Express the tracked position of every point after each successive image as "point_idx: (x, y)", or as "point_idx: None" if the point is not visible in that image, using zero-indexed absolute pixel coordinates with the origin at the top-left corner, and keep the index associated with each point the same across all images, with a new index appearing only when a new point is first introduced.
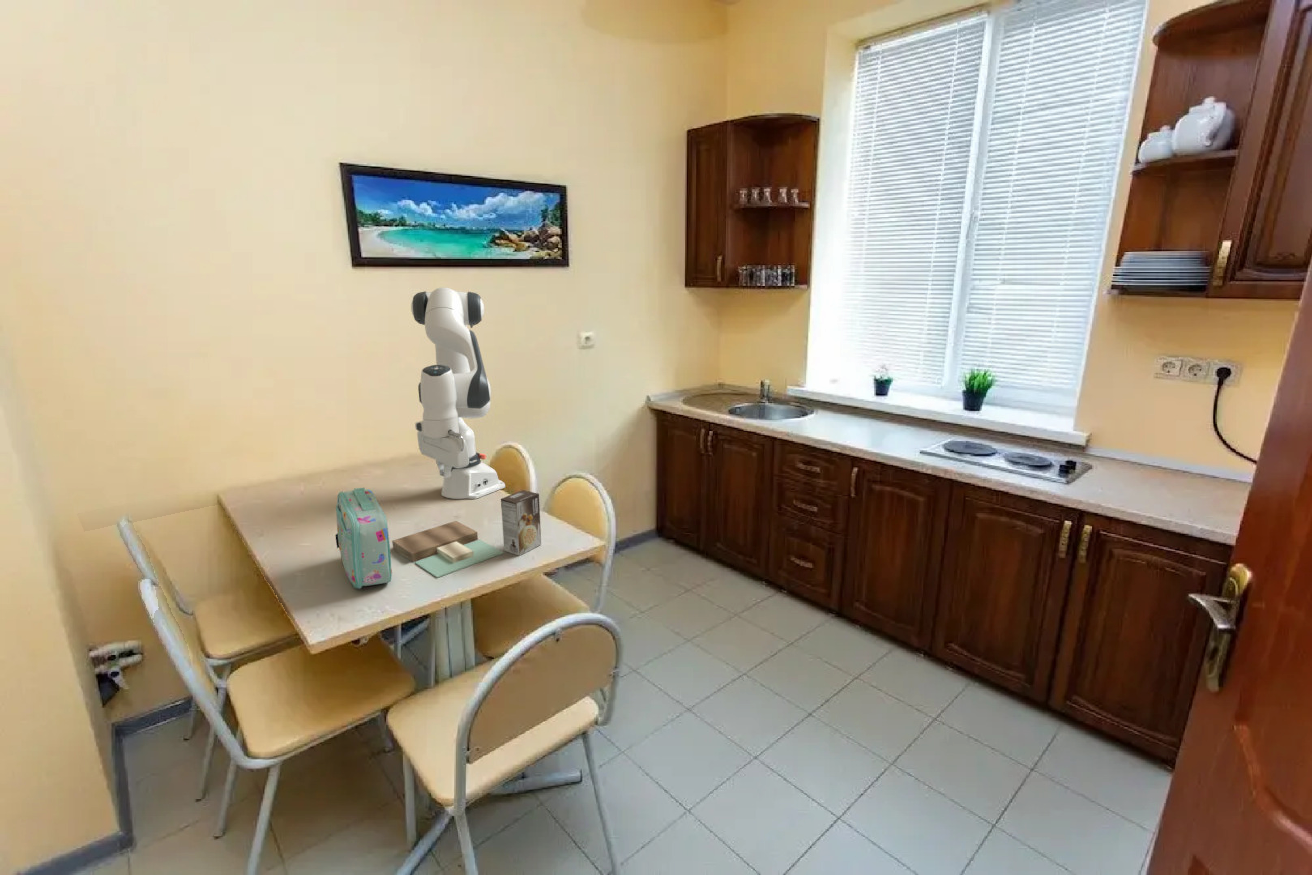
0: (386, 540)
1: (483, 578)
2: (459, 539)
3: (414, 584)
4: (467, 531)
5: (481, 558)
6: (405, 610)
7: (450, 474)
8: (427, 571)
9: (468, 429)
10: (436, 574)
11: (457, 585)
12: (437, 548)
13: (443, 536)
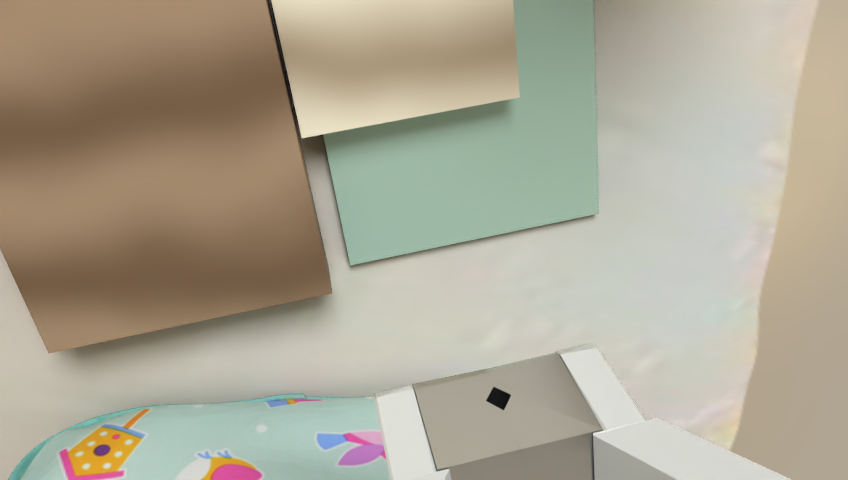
0: None
1: (776, 5)
2: None
3: (575, 311)
4: None
5: None
6: (747, 378)
7: (605, 369)
8: (492, 232)
9: None
10: (571, 209)
11: (734, 150)
12: (312, 135)
13: (153, 47)
